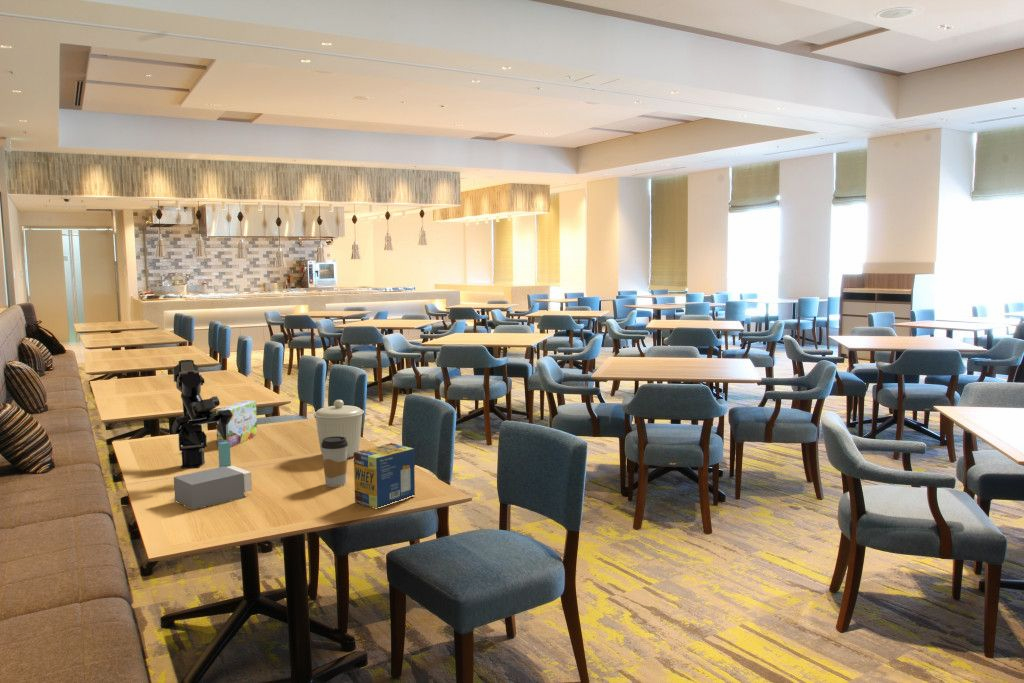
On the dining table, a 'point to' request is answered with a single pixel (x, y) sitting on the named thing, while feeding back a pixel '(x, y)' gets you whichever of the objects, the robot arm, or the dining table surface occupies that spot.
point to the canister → (340, 424)
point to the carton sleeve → (209, 487)
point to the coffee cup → (335, 460)
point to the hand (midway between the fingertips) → (212, 441)
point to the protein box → (384, 474)
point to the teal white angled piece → (226, 461)
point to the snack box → (240, 423)
